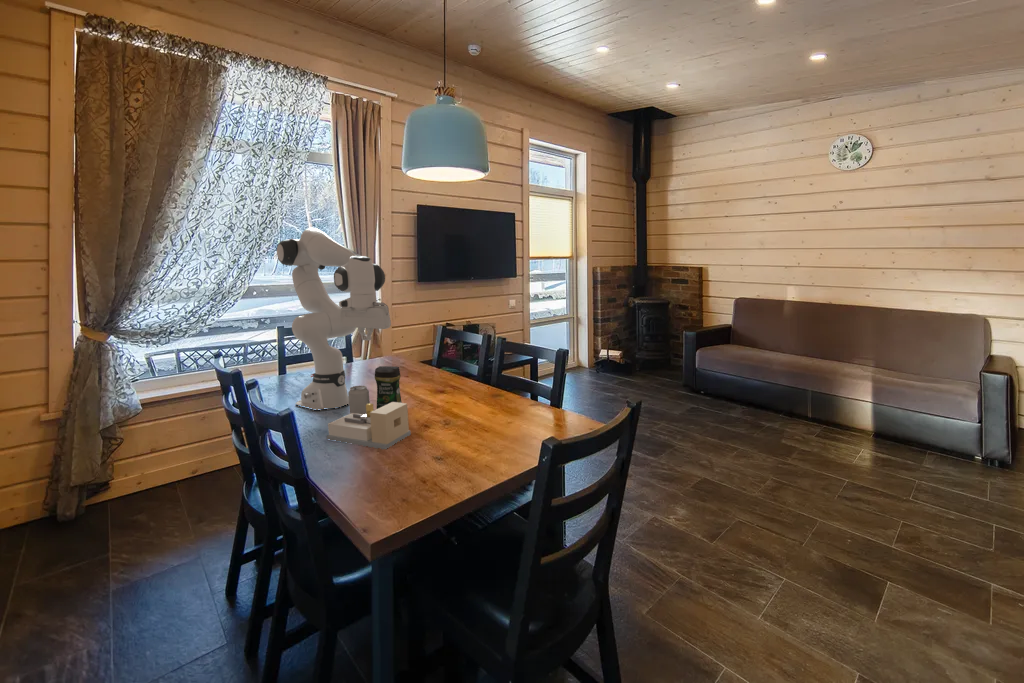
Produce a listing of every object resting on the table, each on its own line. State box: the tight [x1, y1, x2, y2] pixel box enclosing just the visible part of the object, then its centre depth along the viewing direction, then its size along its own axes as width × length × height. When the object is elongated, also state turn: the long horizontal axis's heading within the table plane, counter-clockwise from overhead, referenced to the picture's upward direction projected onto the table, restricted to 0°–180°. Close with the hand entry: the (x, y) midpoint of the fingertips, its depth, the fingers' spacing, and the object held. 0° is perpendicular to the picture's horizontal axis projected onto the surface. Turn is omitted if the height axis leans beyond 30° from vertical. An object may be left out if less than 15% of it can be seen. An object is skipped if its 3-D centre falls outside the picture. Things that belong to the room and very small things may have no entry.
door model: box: [326, 402, 412, 450], centre depth 166 cm, size 24×14×12 cm, turn 68°
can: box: [347, 385, 371, 414], centre depth 187 cm, size 8×8×12 cm
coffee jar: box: [374, 365, 403, 409], centre depth 192 cm, size 10×8×19 cm
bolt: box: [360, 403, 375, 423], centre depth 165 cm, size 10×3×6 cm, turn 68°
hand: (366, 340), depth 177 cm, fingers closed
